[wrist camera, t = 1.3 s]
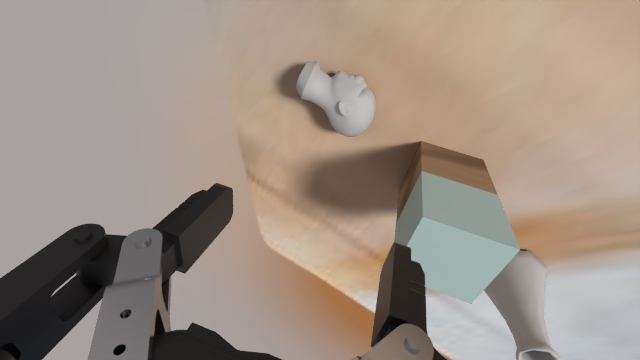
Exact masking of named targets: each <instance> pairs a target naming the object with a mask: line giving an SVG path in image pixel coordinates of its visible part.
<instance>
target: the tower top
mask: <svg viewBox="0 0 640 360" xmlns="http://www.w3.org/2000/svg"><path fill="white" fill-rule="evenodd" d="M394 242H395V243H398V244H401V245H404V246H407V247H410V248H411V260H412V261H415V262H418V263H420V265H421V267H422V269H423V271H424V273H425V287H427V288H430V289H432V290H435V291H438V292H440V293H443V294H446V295H449V296H451V297H454V298H457V299H459V300H462V301H465V302H468V303H470V304H472V302H473V301H474V300H475V299H476V298H477V297H478V296H479V295H480V294H481V293H482V291H483V290H484V289H485V288H486V287H487V286H488V285H489V284H490V283H491V282H492V280H493V279H494V278H495V277H496V276H497V275H498V274H499V273H500V272H501V271H502V270H503V268H504V267H505V266H506V265H507V264H508V263H509V262H510V261H511V260H512V259H513V257H514V256H515V255H516V254H517V253H518V252H519V251H520V248H519V245H518V243H517V240H516V238H515V236H514V233H513V231H512V228H511V226H510V223H509V221H508V219H507V216H506V214H505V211H504V209H503V206H502V204H501V202H500V199H499V197H498V195H497V194H493V193H490V192H487V191H484V190H481V189H478V188H474V187H471V186H468V185H465V184H462V183H459V182H455V181H452V180H449V179H446V178H443V177H440V176H436V175H433V174H430V173H427V172H424V171H422V172H421V174H420V176H419V178H418V180H417V182H416V184H415V186H414V188H413V190H412V192H411V194H410V196H409V198H408V200H407V202H406V204H405V207H404V209H403V211H402V213H401V215H400V217H399V219H398V221H397V223H396V230H395V240H394Z"/></svg>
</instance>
